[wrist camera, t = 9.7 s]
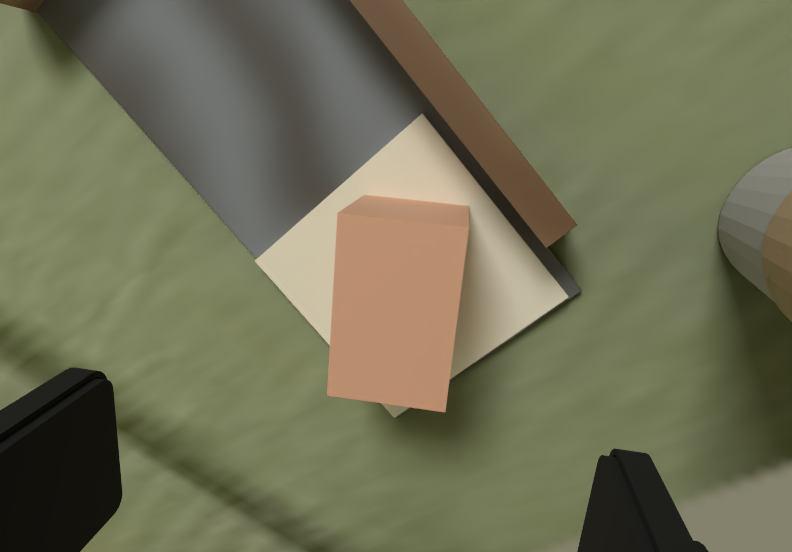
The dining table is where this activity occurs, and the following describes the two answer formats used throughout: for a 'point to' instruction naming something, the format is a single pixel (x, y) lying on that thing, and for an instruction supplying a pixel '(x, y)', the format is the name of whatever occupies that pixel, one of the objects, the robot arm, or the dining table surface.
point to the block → (396, 300)
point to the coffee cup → (762, 228)
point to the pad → (484, 262)
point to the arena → (295, 104)
